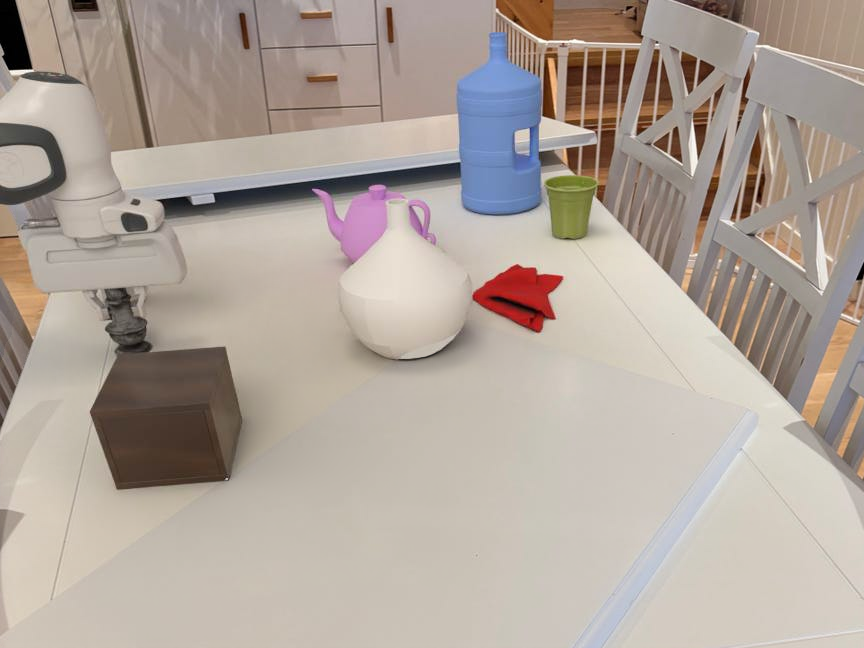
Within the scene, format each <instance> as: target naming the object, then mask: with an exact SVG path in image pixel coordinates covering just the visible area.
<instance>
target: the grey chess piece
mask: <svg viewBox="0 0 864 648" xmlns="http://www.w3.org/2000/svg"><path fill="white" fill-rule="evenodd" d="M104 290H105V293H106V296H107V298H106V299H105V302H106V303H108V305H109V308H110V311H111V314H112V320H111V322H108V323H107V324H106V325H105V327H104V331H105V332H106V333H107V334H108V336H109V337H110V339H112V341H113V342H115V343H116V344H118V346H116V348H115V349H114V354H115V356H118V354H130V353H143V352H151V350H152V349H153V345H152V343H151V342H149V341H147V340H145V339H146V337H147V332H148V327H147V325H148V320H147V319H146V318H134V316H133V314H134V313H133V312H132V309H131V302H130V299H131V295H129V294H127V291H126V288H113V289H104Z"/></svg>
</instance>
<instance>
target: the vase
mask: <svg viewBox="0 0 864 648" xmlns="http://www.w3.org/2000/svg"><path fill="white" fill-rule="evenodd" d="M386 211H387V221H388V222H387V229H386V230H385V232H384V234H383V235H382V237H381V238H380V239H379V240H378V241H377V242H376V243H375V244H374V245H373V246H372V247H371V248H370V249H369V250H368V251H367V252H366V253H365V254H364V255H363V256H362V257H360V258H359V259H358V260H357V261H356V262H355V263H352V264H351V265H350V267H348V269H346V270H345V271H344V272H343V273H342V275H341V276H340V278H339V282H338V286H337V300H338V304H339V311H340V313H341V314H342V316H343V319H344V321H346V324H347V325H348V327H349V329H350V331H351V332H352V333H353V335H354V336H355V338H357V339H358V340H359V341H360V342H361V343H362V344H363V345H364V346H365V347H366V348H368V349H369V350H371V351H372V352H375V353H376V354H378V355H380V356H381V357H384V358H387V359H391V360H398V359H399V358H401V356H403V355H405V354H406V353H408V352H409V351H411V350H413V349H415V348H418V347H422V346H425V345H429V344H434V343H437V342H440V341H443V340H445V339H447V338H449V337H451V336H453V335H455V334H456V333H457V332H458V331H459V330H460V329H461V328H462V329H463V328H464V325H465V322H466V320H467V316H468V314H469V311H470V308H471V305H472V302H473V298H472V295H473V283H472V280H471V277H470V274H469V272H468V269H467V267H466V266H465V265H464V264H462V263H461V262H459V261H458V260H457V259H455V258H454V257H452V256H451V255H449V254H447V253H446V252H445V251H443V250H441V249H440V248H438V247H437V246H436V245H435V246H434V245H433V244H432V243H430V242H431V241H430V240H428V239H427V240H426V239H425V238H423V237H422V236H421V235H419V234H418V233H417V232H416V230H415V229H414V228H413V227H412V226H411V222H410V214H409V200H408V198H406V199H402V198H397V199H390V200H388V201H386ZM462 329H461V330H462ZM461 330H460V331H461ZM398 361H399V360H398Z"/></svg>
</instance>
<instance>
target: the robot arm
mask: <svg viewBox="0 0 864 648" xmlns="http://www.w3.org/2000/svg"><path fill="white" fill-rule="evenodd" d="M122 188H123V187H122V184H121V181H120V180H119V178H118V176H117V174H116V172H115V170H114V167H113V164H112V150H111V144H110V141H109V138H108V134H107V131H106V127H105V125H104V122H103V119H102V116H101V113H100V111H99V107H98V105H97V103H96V100H95V97H94V96H93V94H92V92H91V90H90V89H89V86H87V85H86V84H84V83H83V82H82V81H81V80H79V79H78V78H76V77H74V76H72V75H70V74H67V73H60V72H53V71H28V72H24V73H23V74H20V75H19V77H18V80H17V81H16V83H15V84H14V85H13V86H12V88H11V89H9V91H7V92H6V93H5V95H4V96H2V97H1V98H0V205H4V206H16V205H17V206H18V205H20V204H24V203H27V202H30V201H33V200H36V199H37V198H38V199H39V198H40V197H43V196H45V195H47V194H49V195H50V199H51V202H52V205H53V208H54V212H55V214H56V216H51V217H44V218H27V219H25V220H24V222H22V223H21V224H20V225H19V227H18V229H17V236H18V238H19V241H20V245H21V247H22V249H23V250H24V251H25V252H26V255H27V261H28V266H29V270H30V274H31V277H32V282H33V285H34V286H35V288H36V289H38V290H39V291H40V292H41V293H42V294H55V293H56V294H57V293H68V292H69V293H70V292H82V294H83V297H84V299H85V300H86V301H87V302H88V303H89V304H90V305H91V306H92V308H94V309H95V310H96V311H97V314H98V317H99V320H100V321H101V322H105V321H112V314H111V311H110V308H109V305H108V304H105V303H104V301H102V300H101V298H100V297H99V296H98V295H97V294H98V292H99V290H100V289H113V288H127V287H133V288H134V292H135V294H140V295H139V299H138V302H133V304H132V306H131V309H132V312H133V313H134V314H133V316H134V318H144V319H146V317H147V309H146V305H145V301H146V297H147V293H148V290H149V287H155V286H169V285H179V284H180V285H181V283H182V282H183V281H184V279H186V276H187V273H188V266H187V265H188V264H187V262H186V257H185V254H184V252H183V249H182V245H181V243H180V240H179V238H178V235H177V233H176V231H175V230H174V229H173V226H171V224H169V223H168V222H166V221H164V219H165V215H166V214H165V213H166V212H165V207H164V205H163V204H162V202H161V201H158V200H155V199H152V198H147V197H143V196H139V195H135V194H132V193H128V192H125V191H123V189H122Z"/></svg>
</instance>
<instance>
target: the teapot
mask: <svg viewBox="0 0 864 648" xmlns="http://www.w3.org/2000/svg"><path fill="white" fill-rule="evenodd" d="M311 191H312V192H314V193H315V194H316V195H317V196H318V197H319V198H320V200H321V201H322V204H323V206H324V210H325V215H326V222H327V226H328V230H329V232H330V233H331V235H332V236H333V238H334V239H335V240H337V241H338V242H339V243H340V249H341V252H342V253H343V255H344V256H345V257H346V258H347V259H348V260H349V261H350V262H351V263H352V264H354V263H355V262H356V261H357V260H358V259H359V258H360V257H362V256H363V255H364V254H365V253H366V252H367V251H368V250H369V249H370V248H371V247H372V246H373V245H374V244H375V243H376V242H377V241H378V240H379V239H380V238H381V237H382V235H383V234H384V232H385V230H386V229H387V222H388V221H387V211H386V201H388V200H390V199H397V198H402V199H407V198H406V197H405V195H404V194H402V193H401V192H397V191H390V190H387V186H386V185H383V184H374V185H370V186H369V187H368V191H369V192H368V191H367V192H365V193H361V194H358V195H357V196H355V197H354V198H353V199H352V201H351V202H350V205H349V207H348V209H347V211H346V214H345V216H344V218H343V220H342V219H341V218H340V217H339V216H338V214H337V212H336V207H335V204H334V200H333V198H332V197H331V196H330V194H329V193H328V192H327V191H325V190H321V189H318V188H312V189H311ZM408 202H409V214H410V222H411V226H412V227H413V228H414V229H415V230H416V232H417V233H418V234H419V235H421V236H422V237H423V238H425V239H426V240H427V241H428V238H429V239H430V241H429V242H430V243H432V244H433V245H434V246H436V243H437V237H436V235H435V234H434V233H432V232H429V228H430V223H431V210H430V207H429V206H428V204H427V203H426V202H424V201H422V200H420V199H411V200H408ZM413 207H417V208H418V207H419V208H420V209H422V211H423V215H424V221H423V225H422V222H421V220H420V218H419V216H418V214H417V212H416V211H415V209H414V208H413Z"/></svg>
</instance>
